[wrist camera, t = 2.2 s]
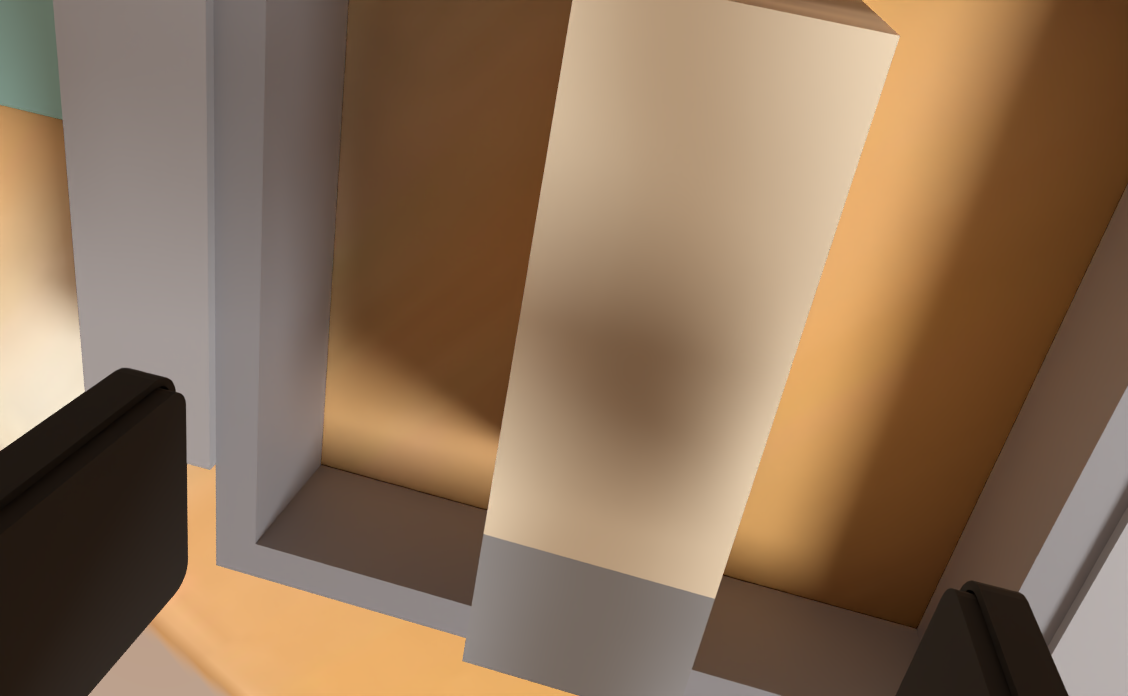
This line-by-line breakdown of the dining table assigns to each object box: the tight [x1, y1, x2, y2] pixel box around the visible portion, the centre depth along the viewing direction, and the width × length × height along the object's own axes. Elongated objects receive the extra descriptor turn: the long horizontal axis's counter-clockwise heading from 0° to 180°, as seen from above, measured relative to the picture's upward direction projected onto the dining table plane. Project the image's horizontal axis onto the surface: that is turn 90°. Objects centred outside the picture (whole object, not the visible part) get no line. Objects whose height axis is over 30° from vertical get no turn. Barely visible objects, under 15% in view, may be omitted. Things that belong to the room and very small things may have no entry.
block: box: [462, 0, 900, 696], centre depth 17 cm, size 4×12×7 cm, turn 169°
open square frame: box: [53, 0, 1128, 696], centre depth 18 cm, size 24×18×4 cm
